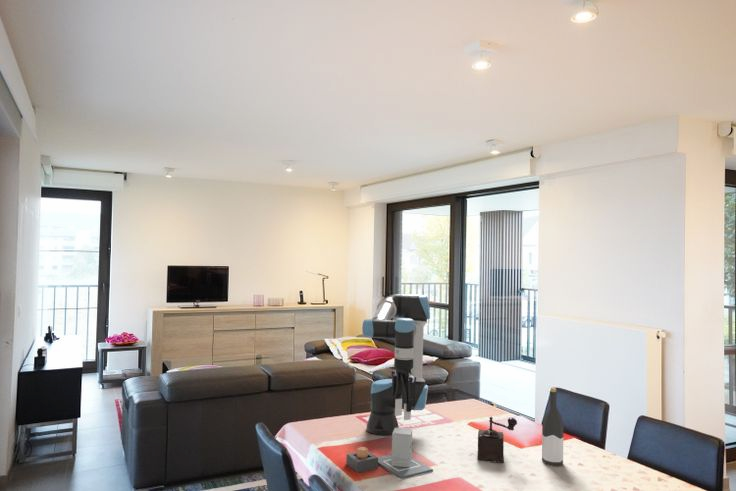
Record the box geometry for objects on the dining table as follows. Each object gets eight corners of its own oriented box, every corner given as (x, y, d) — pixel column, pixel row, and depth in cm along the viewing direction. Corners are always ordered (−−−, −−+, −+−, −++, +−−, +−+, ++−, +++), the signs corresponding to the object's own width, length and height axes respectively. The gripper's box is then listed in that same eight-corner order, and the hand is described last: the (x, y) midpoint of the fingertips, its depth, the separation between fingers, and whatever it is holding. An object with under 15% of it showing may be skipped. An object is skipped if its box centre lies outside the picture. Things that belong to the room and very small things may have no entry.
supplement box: (410, 467, 198) (410, 434, 199) (390, 465, 200) (391, 432, 200) (412, 460, 206) (412, 428, 206) (393, 458, 207) (394, 426, 207)
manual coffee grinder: (477, 461, 209) (477, 416, 209) (477, 451, 220) (478, 408, 220) (516, 465, 205) (517, 419, 206) (515, 455, 216) (516, 412, 216)
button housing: (346, 464, 203) (346, 453, 203) (366, 460, 208) (366, 449, 208) (357, 472, 195) (357, 461, 195) (377, 468, 200) (378, 457, 200)
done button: (354, 458, 202) (354, 448, 202) (364, 456, 204) (364, 446, 205) (360, 462, 198) (360, 452, 198) (369, 460, 201) (370, 450, 201)
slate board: (372, 460, 207) (372, 458, 207) (402, 453, 215) (402, 451, 215) (400, 479, 190) (400, 476, 190) (432, 471, 198) (432, 468, 198)
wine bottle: (562, 460, 212) (563, 386, 212) (563, 467, 204) (564, 391, 205) (542, 457, 214) (542, 384, 215) (541, 464, 207) (542, 389, 207)
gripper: (383, 354, 210) (382, 412, 209) (409, 363, 194) (408, 425, 193) (398, 353, 213) (397, 410, 213) (425, 361, 198) (424, 422, 197)
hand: (402, 417), depth 203 cm, fingers open, 5 cm apart
